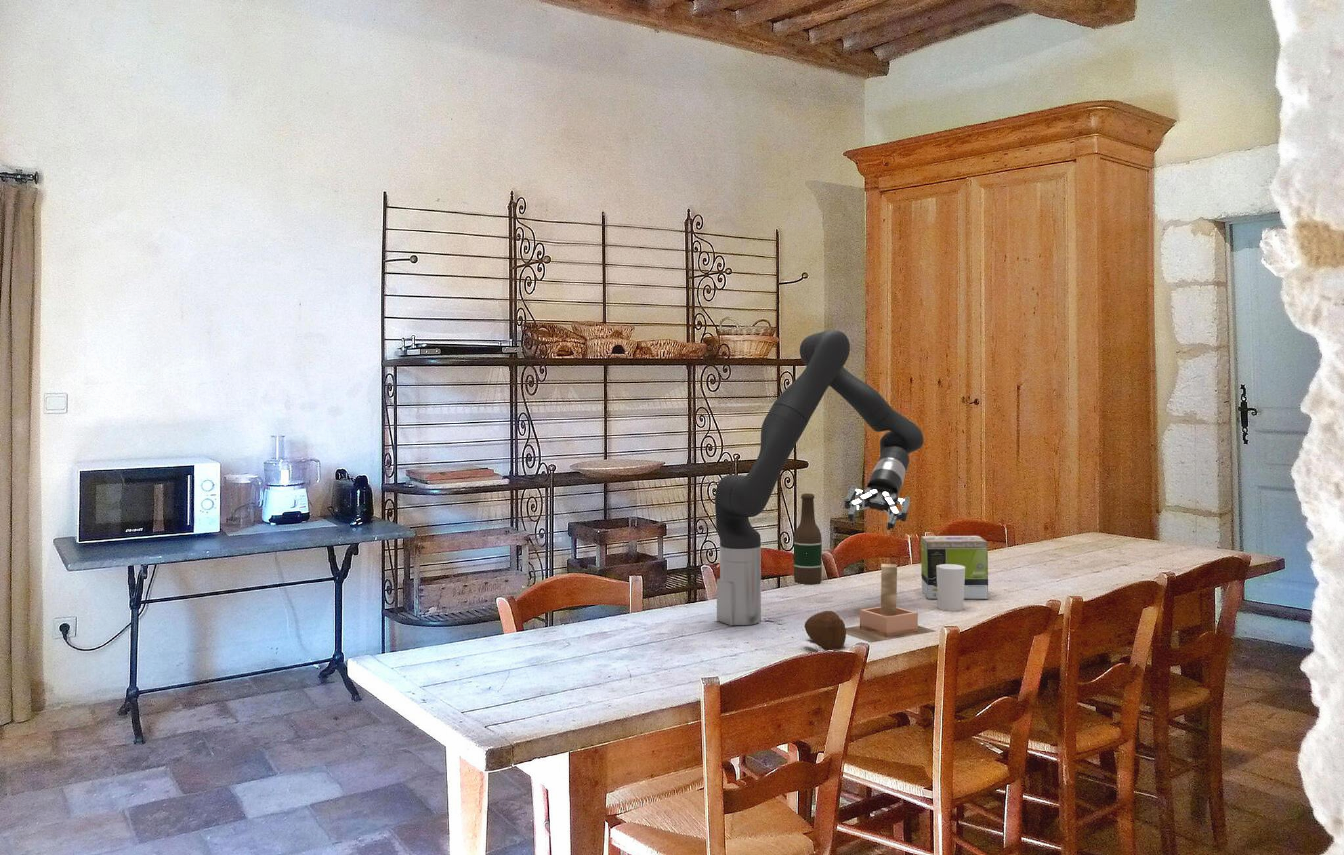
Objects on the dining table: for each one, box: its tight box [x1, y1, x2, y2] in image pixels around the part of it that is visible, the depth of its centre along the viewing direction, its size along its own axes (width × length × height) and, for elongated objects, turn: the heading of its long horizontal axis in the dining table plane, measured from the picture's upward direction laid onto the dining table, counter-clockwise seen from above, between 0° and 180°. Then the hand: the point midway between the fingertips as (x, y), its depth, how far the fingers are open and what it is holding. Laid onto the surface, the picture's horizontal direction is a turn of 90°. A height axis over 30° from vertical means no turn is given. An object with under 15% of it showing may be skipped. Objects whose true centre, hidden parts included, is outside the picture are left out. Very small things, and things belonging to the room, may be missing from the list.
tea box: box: [920, 535, 989, 600], centre depth 251 cm, size 15×10×15 cm, turn 84°
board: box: [845, 625, 936, 643], centre depth 212 cm, size 18×12×1 cm, turn 119°
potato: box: [804, 610, 847, 651], centre depth 202 cm, size 7×10×8 cm
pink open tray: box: [859, 606, 919, 637], centre depth 213 cm, size 9×9×4 cm
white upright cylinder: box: [936, 564, 965, 612], centre depth 237 cm, size 7×7×10 cm
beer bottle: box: [793, 493, 823, 585], centre depth 270 cm, size 8×8×24 cm
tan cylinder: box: [880, 563, 898, 616], centre depth 212 cm, size 4×4×13 cm
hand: (869, 523), depth 224 cm, fingers open, 8 cm apart
